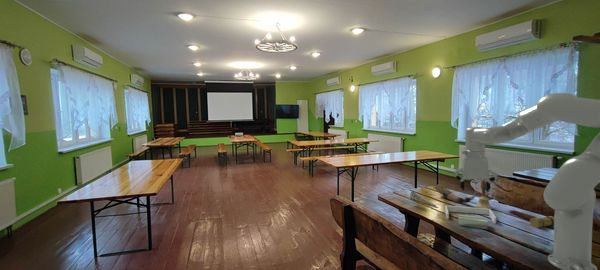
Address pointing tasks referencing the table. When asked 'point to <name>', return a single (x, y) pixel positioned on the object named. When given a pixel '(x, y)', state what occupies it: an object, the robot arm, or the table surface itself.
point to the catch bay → (470, 211)
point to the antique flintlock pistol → (449, 195)
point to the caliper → (421, 198)
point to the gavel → (535, 219)
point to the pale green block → (473, 221)
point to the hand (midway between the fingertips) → (474, 190)
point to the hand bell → (483, 198)
